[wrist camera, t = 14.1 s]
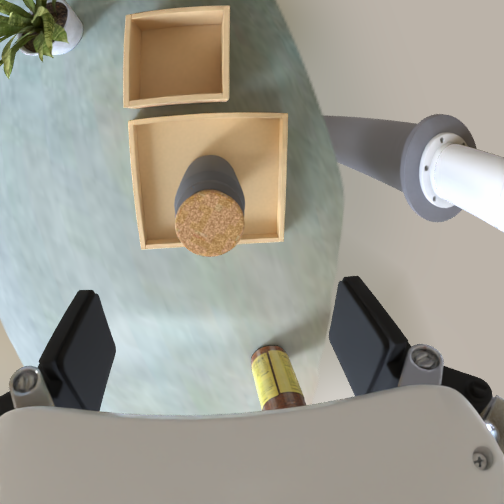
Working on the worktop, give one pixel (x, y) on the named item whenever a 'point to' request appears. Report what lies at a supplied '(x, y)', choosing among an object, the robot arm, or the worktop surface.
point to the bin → (176, 56)
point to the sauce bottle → (275, 379)
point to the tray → (200, 144)
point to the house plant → (38, 29)
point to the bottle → (209, 207)
